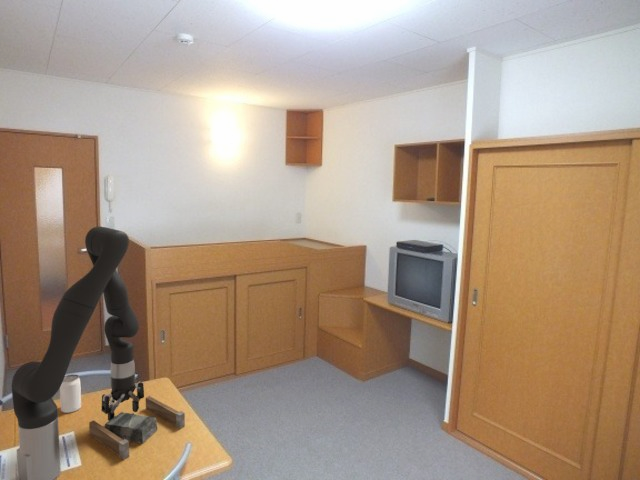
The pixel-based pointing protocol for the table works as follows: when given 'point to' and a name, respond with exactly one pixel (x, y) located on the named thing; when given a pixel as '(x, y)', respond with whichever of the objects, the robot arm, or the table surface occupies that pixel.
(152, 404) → the pair of wooden rails
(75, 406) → the can
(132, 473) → the table surface
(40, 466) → the robot arm
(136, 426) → the stone block
